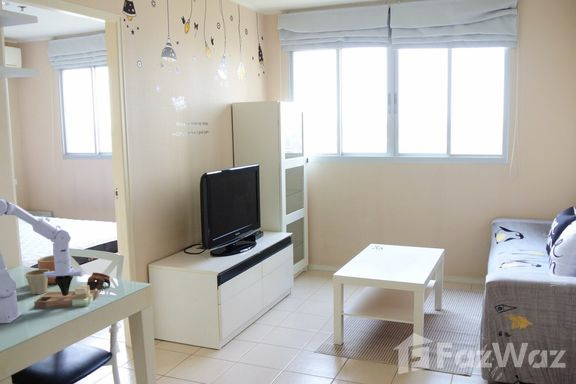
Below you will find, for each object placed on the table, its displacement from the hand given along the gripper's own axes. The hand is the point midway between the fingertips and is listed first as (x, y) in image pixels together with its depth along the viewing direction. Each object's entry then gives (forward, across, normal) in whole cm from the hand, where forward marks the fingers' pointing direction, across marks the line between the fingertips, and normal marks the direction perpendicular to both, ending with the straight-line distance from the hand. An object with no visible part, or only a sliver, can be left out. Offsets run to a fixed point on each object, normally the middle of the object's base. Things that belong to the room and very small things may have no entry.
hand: (65, 295), depth 203 cm
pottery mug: (+4, -6, -18) cm, 19 cm away
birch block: (+1, -6, 0) cm, 7 cm away
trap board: (+4, +1, -3) cm, 5 cm away
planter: (+4, +19, -32) cm, 37 cm away
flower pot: (+4, +19, -17) cm, 26 cm away
